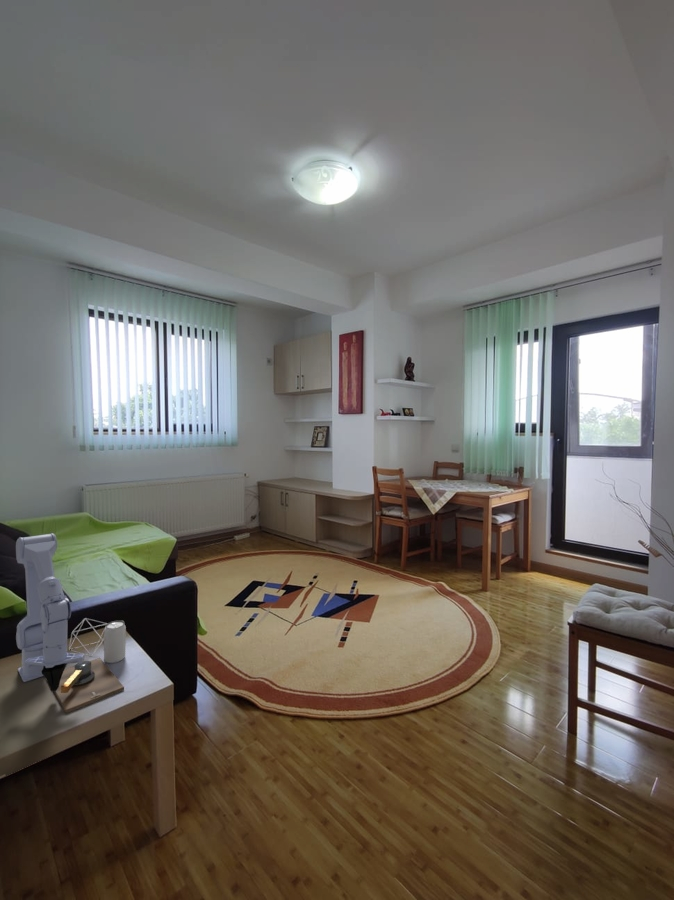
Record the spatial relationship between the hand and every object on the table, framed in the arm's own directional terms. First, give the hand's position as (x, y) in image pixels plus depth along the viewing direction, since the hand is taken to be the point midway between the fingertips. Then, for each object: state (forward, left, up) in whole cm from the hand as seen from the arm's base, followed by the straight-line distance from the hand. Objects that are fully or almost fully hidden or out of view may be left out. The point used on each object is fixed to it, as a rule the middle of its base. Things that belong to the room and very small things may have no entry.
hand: (54, 688), depth 118 cm
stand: (-2, +8, -3) cm, 9 cm away
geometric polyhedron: (-24, +15, -3) cm, 28 cm away
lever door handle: (-1, +6, -2) cm, 6 cm away
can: (-11, +20, -3) cm, 23 cm away
